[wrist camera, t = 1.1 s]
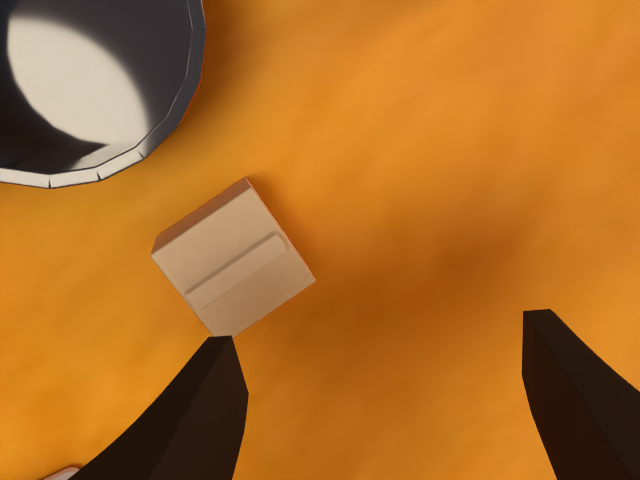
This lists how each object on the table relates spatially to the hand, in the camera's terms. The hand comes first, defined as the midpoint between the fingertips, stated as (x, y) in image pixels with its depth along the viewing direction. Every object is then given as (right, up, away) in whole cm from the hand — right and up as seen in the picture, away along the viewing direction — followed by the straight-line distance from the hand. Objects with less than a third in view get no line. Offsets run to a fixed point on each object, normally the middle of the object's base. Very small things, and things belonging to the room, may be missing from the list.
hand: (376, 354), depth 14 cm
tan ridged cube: (-5, +2, +10) cm, 11 cm away
